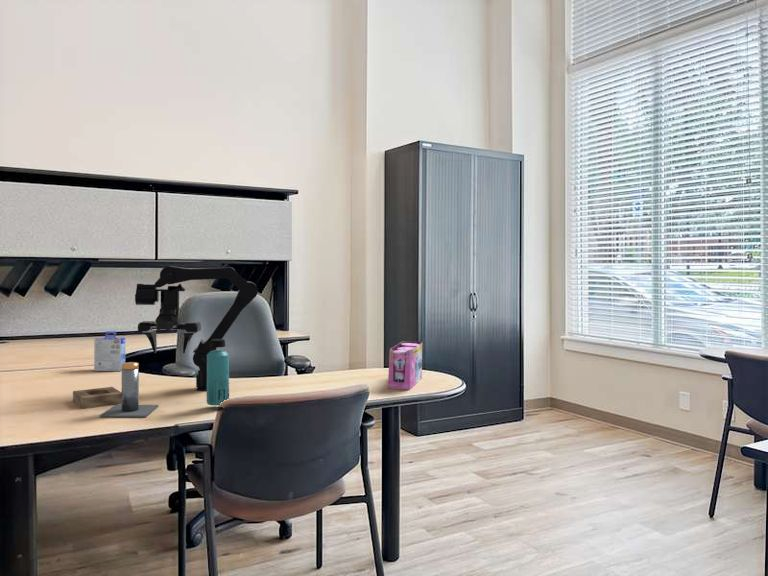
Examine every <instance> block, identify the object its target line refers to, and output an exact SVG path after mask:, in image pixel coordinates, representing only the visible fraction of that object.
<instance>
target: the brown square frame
mask: <svg viewBox="0 0 768 576" xmlns="http://www.w3.org/2000/svg"><path fill="white" fill-rule="evenodd" d="M72 402H74V403H75V404H76V405H77V406H78V405H79V407H80V408H81V409H82V408H83V409H89V408H98V407H107V406H112V405H113V406H114V405H122V391H120V390H118V389H116V388H115V387H113V386H108V387H106V386H105V387H100V388H99V387H98V388H89V389H88V388H87V389H81V390H80V389H79V390H73V391H72Z"/></svg>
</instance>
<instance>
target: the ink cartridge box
mask: <svg viewBox="0 0 768 576" xmlns="http://www.w3.org/2000/svg"><path fill="white" fill-rule="evenodd" d="M93 342H94V343H93V344H94V345H93V347H94V355H93V358H94V359H93V360H94V361H93V367H94V369H93V372H122V363H126V337H124V336H123V337H117V331H115V330H113V331H106V333H105V336H104V337H97V338H94V341H93Z"/></svg>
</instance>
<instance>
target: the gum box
mask: <svg viewBox="0 0 768 576" xmlns="http://www.w3.org/2000/svg"><path fill="white" fill-rule="evenodd" d="M422 378H423V341H411V340H409V341H408V340H407V341H406V340H404V341H400V342H399V343H398V344H396V345H394V346H392V347H391V348H389V357H388V378H387V380H388V381H387V389H391V390H403V391H404V390H406V391H410V390H411V389H412V388H414V386H415V385H416V384H418V383H419V380H420V381H421V380H422Z"/></svg>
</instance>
